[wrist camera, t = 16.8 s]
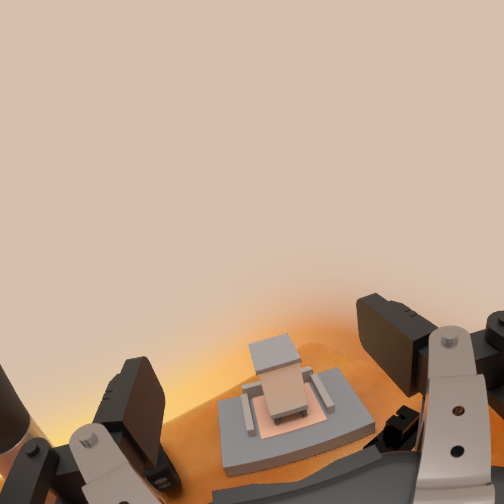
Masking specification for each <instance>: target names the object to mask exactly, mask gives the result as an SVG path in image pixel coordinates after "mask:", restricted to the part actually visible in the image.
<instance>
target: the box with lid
mask: <svg viewBox="0 0 504 504" xmlns="http://www.w3.org/2000/svg"><path fill="white" fill-rule="evenodd" d="M248 345H249V349H250V353H251V357H252V360H253V364H254V368H255V372H256V375H259V379H260V382H261V386H262V389H263V392H264V395H265V399H266V402H267V405H268V409H269V412H270V415H271V418H272V419H274V422H275V424H278V423H280V420H279V417H283V416H286V415H290V414H293V413H296V412H299V411H300V412H301V415H302V416H305V415H307V410H306V409H308V403H307V398H306V393H305V387H304V382H303V377H302V372H301V367H300V362H301V357H300V356H299V354H298V352H297V350H296V348H295V346H294V344H293V343H292V341H291V339H290V337H289V335H288V334H287V333H286V334H283V335H279V336H276V337H272V338H269V339H265V340H262V341H259V342H255V343H251V344H248Z"/></svg>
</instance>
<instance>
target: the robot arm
mask: <svg viewBox="0 0 504 504" xmlns="http://www.w3.org/2000/svg"><path fill="white" fill-rule="evenodd" d="M356 307H357V318H358V329H359V338H360V342H361V344H362V346H363V348H364V349H365V351H366V352H367V353H368V354H369V355H370V356H371V357H372V358H373V359H374V360H375V361H376V362H377V364H378V365H379V366H380V367H381V368H382V369H383V370H384V371H385V372H386V374H387V375H388V376H389V377H390V378H391V379H392V380H393V381H394V382H395V384H396V385H397V386H398V387H399V388H400V389H401V390H402V391H403V392H404V394H405V395H406V396H407V397H408V398H409V397H411V396H413V395H415V394H417V393H419V392H420V393H421V394H422V395H423V396H422V402H421V411H420V419H419V426H418V433H417V440H416V445H415V450H414V451H393V452H386V453H381V454H380V452H379V451H378V449H377V448H376V446H375V445H372V446H370V447H368V448H366V449H363V450H361V451H358V452H356V453H354V454H351V455H348V456H346V457H343V458H341V459H338V460H336V461H334V462H333V463H331V464H329V465H328V466H326V467H324V468H322V469H321V470H319V471H317V472H315V473H314V474H312V475H310V476H308V477H306V478H304V479H302V480H300V481H297V482H290V483H273V484H250V485H245V486H240V487H234V488H228V489H222V490H215V491H212V496H213V502H210V503H208V504H504V467H498V466H491V439H490V421H489V409H488V404H489V405H490V406H491V407H492V408H493V409H494V411H495V412H496V413H497V414H498V415H499V416H500V417H501V418H502V419H503V420H504V311H497V312H494V313H492V314H491V315H490V316H489V317H488V319H487V324H486V329H484V330H481V331H477V332H474V333H471V334H469V333H468V332H467V331H466V330H465V329H463V328H461V327H457V326H444V327H440V328H438V327H437V326H435V325H434V324H432V323H431V322H429V321H428V320H426V319H425V318H423V317H422V316H420V315H418V314H417V313H416V312H415V311H413V310H411V309H410V308H408V307H407V306H405V305H404V304H402V303H398V302H395V301H387V300H386V299H384V298H383V297H381V296H380V295H378V294H377V293H374V294H371V295H368V296H365V297H362V298H360V299H358V300H357V302H356ZM105 392H106V393H105V394H104V396H103V398H102V400H103V401H101V403H100V405H99V407H98V410H97V412H96V415H95V417H94V420H93V422H92V423H91V424H87V425H84V426H82V427H80V428H79V429H77V430H76V431H75V432H74V433H73V434H72V436H71V438H70V441H69V444H67V445H63V446H59V447H54V445H53V444H52V443H51V442H50V441H49V439H48V438H47V437H46V435H45V434H44V433H43V432H42V430H41V429H40V428H39V426H38V425H37V424H36V422H35V421H34V420H33V418H32V417H31V415H30V414H29V413H28V411H27V410H26V408H25V407H24V405H23V404H22V402H21V401H20V399H19V397H18V395H17V394H16V392H15V390H14V388H13V386H12V385H11V383H10V381H9V379H8V378H7V376H6V374H5V372H4V370H3V369H2V367H1V365H0V474H1V475H2V476H3V477H4V478H5V479H6V481H5V483H4V486H3V488H2V491H1V493H0V504H168V503H167V502H166V501H165V500H164V499H163V498H162V497H161V496H160V494H159V493H158V492H157V491H156V490H155V489H154V488H153V486H152V485H151V484H150V483H149V482H148V480H147V479H146V478H145V477H144V476H143V473H144V469H148V468H156V467H157V459H158V451H159V443H160V436H161V429H162V422H163V415H164V409H165V395H164V392H163V389H162V387H161V385H160V383H159V381H158V379H157V377H156V375H155V373H154V370H153V368H152V366H151V364H150V362H149V360H148V359H147V357H145V356H143V357H138V358H132V359H127V360H126V361H125V364H124V366H123V368H122V370H121V373H120V374H117V375H116V376H115V377H114V378H113V379H112V380H111V381H110V382H109V384H108V387H107V389H106V391H105Z"/></svg>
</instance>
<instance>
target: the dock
mask: <svg viewBox="0 0 504 504" xmlns="http://www.w3.org/2000/svg"><path fill="white" fill-rule="evenodd" d="M301 372H302V377H303V382H304V387H305V393H306V398H307V403H308V409H306V410H307V415H305V416H302V415H301V412H300V411H299V412H296V413H293V414H290V415H286V416H283V417H279V420H280V423H278V424H275V422H274V419H272V418H271V415H270V412H269V409H268V405H267V402H266V399H265V395H264V392H263V389H262V386H261V382H260V381H257V382H253V383H249V384H245V385H241V386H242V390H243V393H244V394H242V395H241V396H238V397H234V398H230V399H225V400H221V401H218V412H219V426H220V438H221V450H222V461H223V468H224V470H225V472H226V473H227V475H228V477H231V476H237V475H242V474H247V473H252V472H256V471H261V470H265V469H269V468H273V467H277V466H281V465H285V464H288V463H292V462H295V461H299V460H302V459H305V458H309V457H312V456H315V455H318V454H321V453H324V452H327V451H329V450H332V449H335V448H338V447H340V446H343V445H346V444H348V443H351V442H353V441H356V440H358V439H361V438H363V437H365V436H368V435H370V434H372V433H374V432H375V420H374V419H373V417H372V416H371V415H370V413H369V412H368V410H367V409H366V407H365V406H364V404H363V403H362V402H361V400H360V399H359V397H358V396H357V394H356V393H355V391H354V390H353V389H352V387H351V386H350V384H349V383H348V381H347V380H346V378H345V377H344V376H343V374H342V373H341V371H340V370H339V368H338V367H335V368H333V369H330V370H327V371H324V372H321V373H318V374H317V373H315V374H313V370H312V368H311V366H308V367H305V368H302V369H301Z"/></svg>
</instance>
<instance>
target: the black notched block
mask: <svg viewBox="0 0 504 504" xmlns="http://www.w3.org/2000/svg"><path fill="white" fill-rule="evenodd" d="M396 414H397V415H399V416H398V417H397V416H395V415H392V416H391V417H390V418H389V419H388V420H387V421H386V425H385V427H384V430H383V431H382V432H381V433H379V434H378V435H377V436H376V437H375V438H374V439H373V440H372V441H370V442H369V443H368V444H367V445H366V446H365V447H363V449H366V448H368V447H370V446H372V445H375V446H376V448H377V449H378V451H379V452H380V454H381V453H386V452H393V451H411V450H412V449H413V448H414V447H415V445H416V440H417V433H418V426H419V419H420V413H419V412H417V411H415V410H413V409H411V408H409V407H407V406H405V405H403V406H402V407H401V408H400V409H399V410H398V411H397V412H396Z"/></svg>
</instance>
